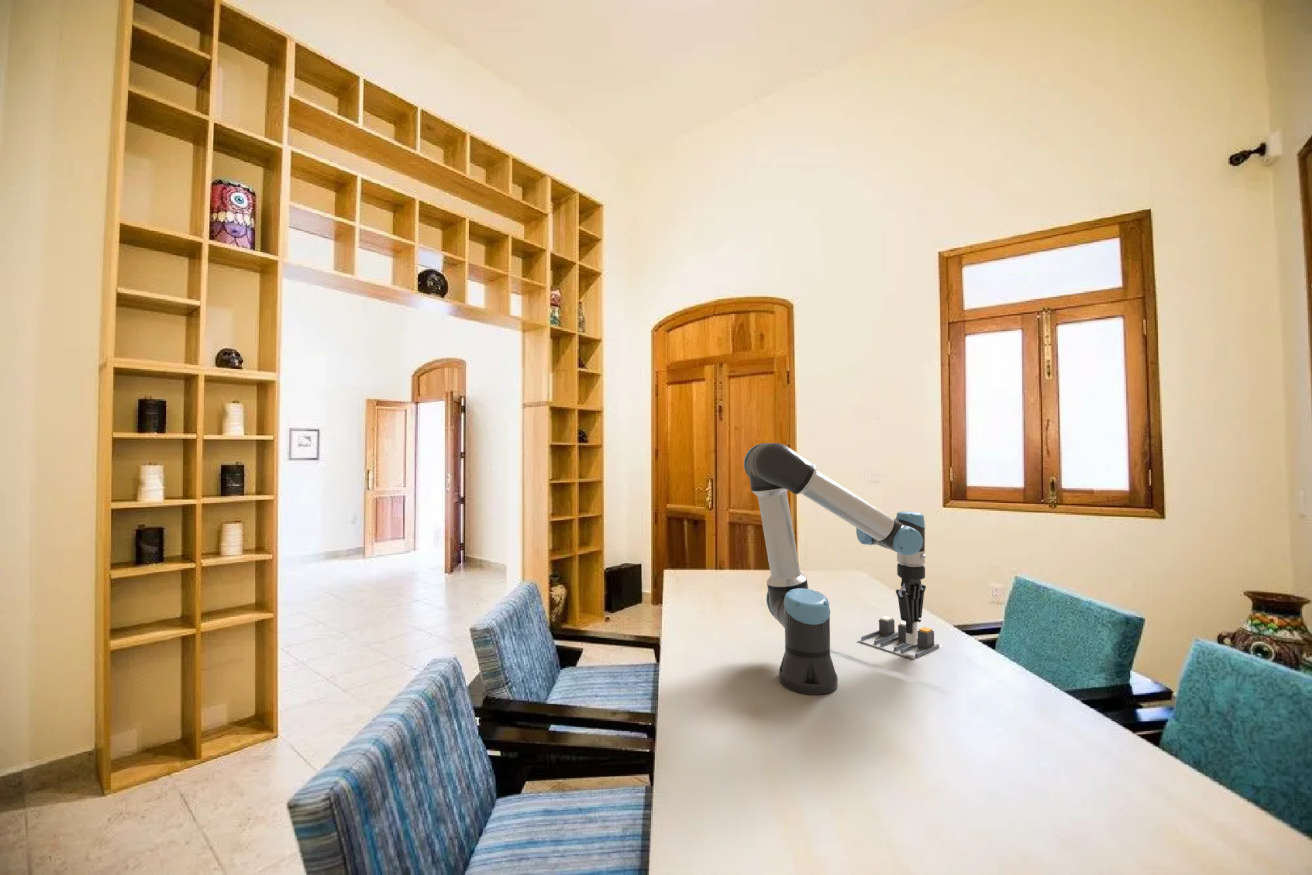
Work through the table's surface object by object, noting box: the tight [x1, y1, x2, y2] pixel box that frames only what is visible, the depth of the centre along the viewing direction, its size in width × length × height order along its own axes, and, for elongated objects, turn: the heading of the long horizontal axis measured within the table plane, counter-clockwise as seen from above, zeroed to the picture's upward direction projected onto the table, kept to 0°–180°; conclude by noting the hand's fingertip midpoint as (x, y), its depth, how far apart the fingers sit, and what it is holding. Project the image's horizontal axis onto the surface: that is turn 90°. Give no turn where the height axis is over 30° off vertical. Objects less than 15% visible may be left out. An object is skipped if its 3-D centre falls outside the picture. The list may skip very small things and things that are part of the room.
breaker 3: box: [917, 626, 935, 650], centre depth 161 cm, size 4×3×6 cm
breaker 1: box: [878, 615, 896, 637], centre depth 172 cm, size 4×3×6 cm
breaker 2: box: [897, 621, 906, 644], centre depth 166 cm, size 4×3×6 cm
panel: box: [856, 629, 944, 661], centre depth 164 cm, size 26×20×2 cm
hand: (911, 643), depth 156 cm, fingers closed
